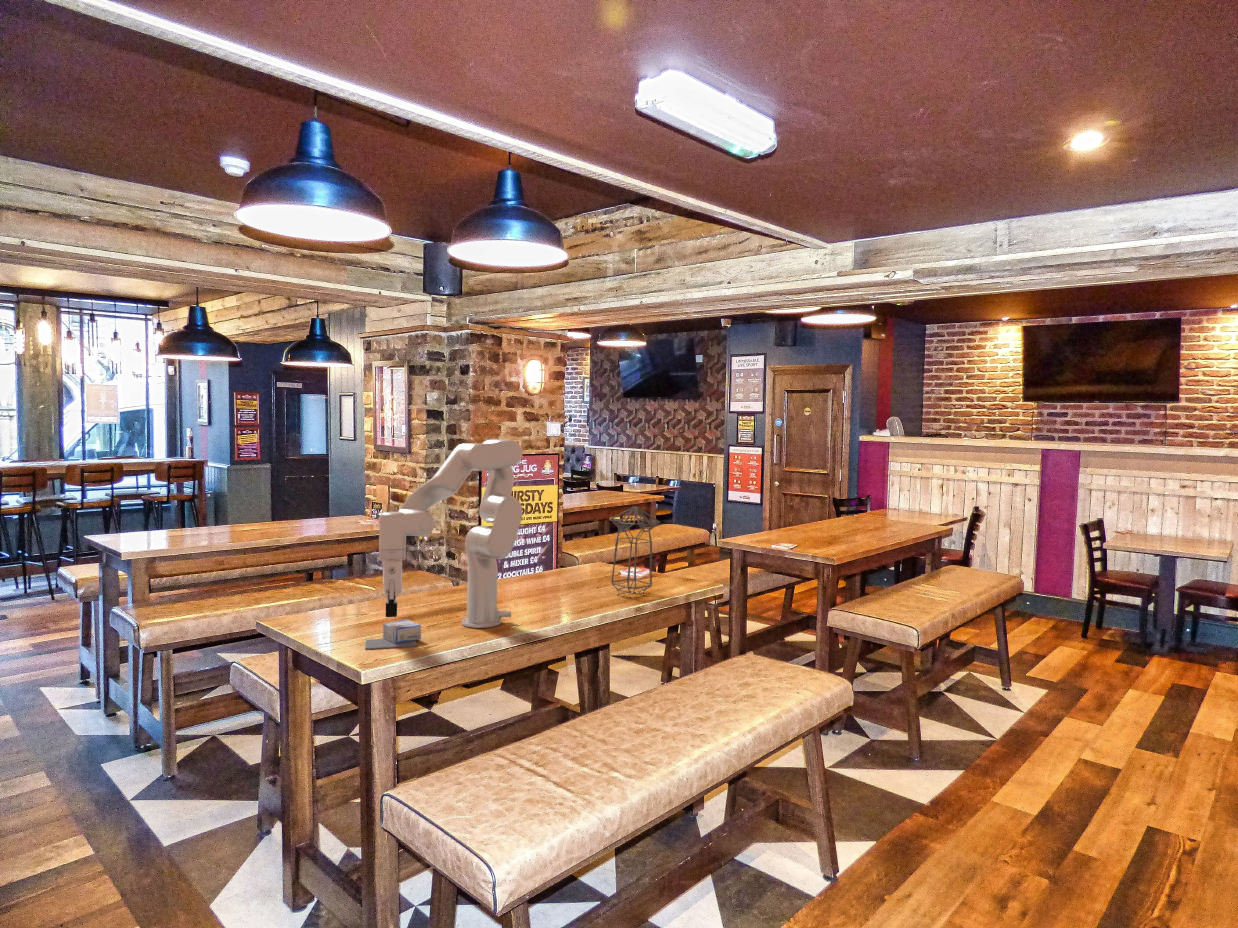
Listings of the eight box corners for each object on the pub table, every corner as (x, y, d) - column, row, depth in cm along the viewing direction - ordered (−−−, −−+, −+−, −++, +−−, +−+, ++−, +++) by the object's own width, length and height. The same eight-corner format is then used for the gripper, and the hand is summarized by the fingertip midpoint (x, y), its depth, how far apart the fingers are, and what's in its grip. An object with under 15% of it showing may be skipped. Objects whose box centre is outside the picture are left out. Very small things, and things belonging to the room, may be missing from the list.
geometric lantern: (629, 589, 293) (634, 503, 292) (659, 597, 282) (664, 508, 281) (602, 594, 282) (606, 505, 280) (631, 602, 271) (636, 509, 269)
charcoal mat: (415, 638, 215) (415, 636, 215) (416, 646, 207) (417, 645, 207) (366, 640, 211) (366, 639, 211) (365, 649, 202) (365, 648, 202)
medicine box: (407, 618, 218) (421, 624, 212) (407, 633, 219) (421, 639, 212) (382, 623, 213) (396, 628, 207) (382, 638, 213) (396, 644, 207)
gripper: (406, 558, 205) (404, 622, 206) (405, 550, 220) (404, 609, 220) (378, 558, 203) (377, 623, 204) (379, 550, 217) (378, 611, 218)
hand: (391, 616), depth 212 cm, fingers closed
